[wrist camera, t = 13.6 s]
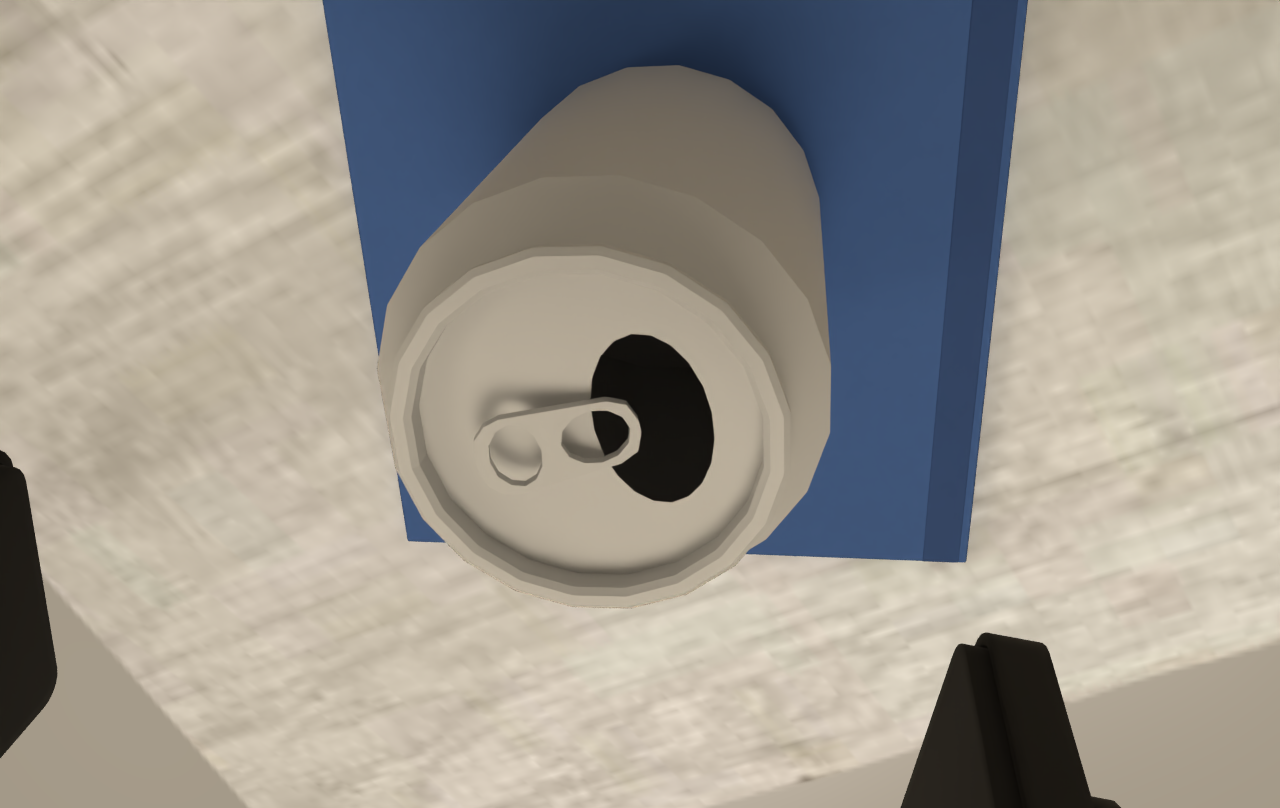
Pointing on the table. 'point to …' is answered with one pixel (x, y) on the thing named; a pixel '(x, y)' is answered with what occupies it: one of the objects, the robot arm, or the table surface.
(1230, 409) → the table surface
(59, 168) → the table surface
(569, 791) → the table surface
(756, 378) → the can
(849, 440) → the folder
